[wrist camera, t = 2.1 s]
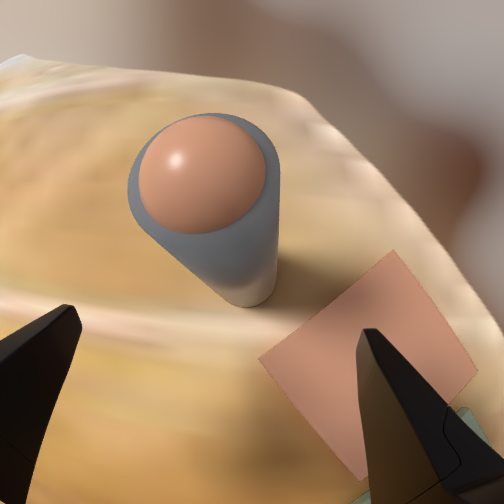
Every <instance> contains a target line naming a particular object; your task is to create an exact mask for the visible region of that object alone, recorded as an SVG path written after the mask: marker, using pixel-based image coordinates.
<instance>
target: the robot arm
mask: <svg viewBox="0 0 504 504" xmlns="http://www.w3.org/2000/svg"><path fill="white" fill-rule="evenodd" d="M81 332H82V323H81V321H80V318H79V316H78V313H77V311H76V309H75V307H74V306H72V305H67V304H63V305H61V306H59V307H57V308H55V309H54V310H52V311H50V312H48V313H47V314H45V315H43V316H41V317H40V318H38V319H36V320H34V321H33V322H31V323H29V324H27V325H26V326H24V327H22V328H21V329H19V330H17V331H16V332H14V333H12V334H10V335H9V336H7V337H5V338H4V339H2V340H0V501H2V502H3V503H5V504H26V499H27V495H28V491H29V487H30V483H31V479H32V475H33V472H34V468H35V464H36V461H37V457H38V454H39V451H40V447H41V444H42V441H43V438H44V435H45V432H46V429H47V426H48V423H49V420H50V418H51V415H52V412H53V409H54V407H55V404H56V401H57V399H58V396H59V393H60V391H61V388H62V386H63V383H64V381H65V378H66V376H67V373H68V371H69V368H70V365H71V362H72V359H73V356H74V353H75V350H76V347H77V344H78V341H79V338H80V335H81ZM356 368H357V387H358V403H359V410H360V416H361V423H362V430H363V437H364V444H365V452H366V460H367V469H368V478H369V487H370V498H371V504H504V459H503V458H502V457H501V456H500V455H499V454H498V453H497V452H496V451H495V450H493V449H492V448H491V447H490V446H489V445H488V444H487V443H486V442H485V441H484V440H483V439H481V438H480V437H479V436H478V435H477V434H476V433H475V432H474V431H473V430H472V429H471V428H470V427H469V426H468V425H467V424H466V423H465V422H464V421H463V420H462V419H461V418H460V417H459V416H458V415H457V413H456V412H455V411H454V410H453V409H452V408H451V407H450V406H448V404H447V402H446V401H445V400H444V399H443V398H442V397H441V396H440V395H439V394H438V393H437V391H436V390H435V389H434V388H433V387H432V386H431V385H430V384H429V383H428V382H427V381H426V380H425V378H424V377H423V376H422V375H421V374H420V373H419V372H418V371H417V370H416V369H415V368H414V367H413V366H412V365H411V363H410V362H409V361H408V360H407V359H406V358H405V357H404V356H403V355H402V354H401V353H400V352H399V351H398V350H397V349H396V348H395V347H394V345H393V344H392V343H391V342H390V341H389V340H388V339H387V338H386V337H385V336H384V335H383V334H382V333H381V332H380V331H379V330H378V329H377V328H364V329H363V330H362V331H361V334H360V338H359V341H358V344H357V348H356Z"/></svg>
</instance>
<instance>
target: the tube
mask: <svg viewBox="0 0 504 504" xmlns="http://www.w3.org/2000/svg"><path fill="white" fill-rule="evenodd" d="M128 201H129V205H130V209H131V211H132V214H133V216H134V218H135V219H136V221H137V223H138V224H139V225H140V226H141V228H142V229H143V230H144V231H145V232H146V233H147V234H148V235H150V236H151V237H152V238H153V239H154V240H155V241H156V242H157V243H159V244H160V245H161V246H162V247H163V248H164V249H165V250H167V251H168V252H169V253H170V254H171V255H172V256H174V257H175V258H176V259H177V260H178V261H179V262H180V263H182V264H183V265H184V266H185V267H186V268H187V269H189V270H190V271H191V272H192V273H193V274H195V275H196V276H197V277H198V278H199V279H200V280H202V281H203V282H204V283H205V284H206V285H208V286H209V287H210V288H211V289H212V290H214V291H215V292H216V293H217V294H219V295H220V296H221V297H222V298H223V299H225V300H226V301H227V302H229V303H230V304H232V305H235V306H238V307H253V306H256V305H258V304H261V303H262V302H264V301H265V300H266V299H267V298H268V297H269V296H270V295H271V294H272V292H273V290H274V288H275V285H276V281H277V262H278V235H279V203H280V163H279V158H278V155H277V152H276V150H275V147H274V145H273V144H272V142H271V140H270V139H269V138H268V137H267V135H266V134H265V133H264V132H263V131H262V130H261V129H259V128H258V127H257V126H255V125H254V124H252V123H251V122H249V121H247V120H245V119H242V118H239V117H237V116H233V115H228V114H221V113H207V114H199V115H194V116H190V117H187V118H184V119H181V120H179V121H176V122H174V123H172V124H170V125H169V126H167V127H165V128H164V129H162V130H161V131H159V132H158V133H157V134H156V135H155V136H153V137H152V138H151V139H150V140H149V141H148V142H147V143H146V145H145V146H144V147H143V148H142V150H141V151H140V153H139V154H138V156H137V158H136V159H135V161H134V164H133V166H132V168H131V172H130V175H129V180H128Z"/></svg>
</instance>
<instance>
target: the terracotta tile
mask: <svg viewBox="0 0 504 504" xmlns="http://www.w3.org/2000/svg"><path fill="white" fill-rule="evenodd" d="M364 328H377V329H378V330H379V331H380V332H381V333H382V334H383V335H384V336H385V337H386V338H387V339H388V340H389V341H390V342H391V343H392V344H393V345H394V347H395V348H396V349H397V350H398V351H399V352H400V353H401V354H402V355H403V356H404V357H405V358H406V359H407V360H408V361H409V362H410V363H411V365H412V366H413V367H414V368H415V369H416V370H417V371H418V372H419V373H420V374H421V375H422V376H423V377H424V378H425V380H426V381H427V382H428V383H429V384H430V385H431V386H432V387H433V388H434V389H435V390H436V391H437V393H438V394H439V395H440V396H441V397H442V398H443V399H444V400H445V401H446V402H447V404H449V403H450V402H451V401H452V400H453V399H454V398H455V397H456V396H457V394H458V393H459V392H460V391H461V390H462V389H463V388H464V386H465V385H466V384H467V383H468V382H469V381H470V379H471V378H472V377H473V376H474V375H475V373H476V372H477V371H478V370H477V368H476V366H475V365H474V363H473V361H472V360H471V358H470V357H469V355H468V353H467V352H466V350H465V349H464V347H463V345H462V344H461V342H460V341H459V339H458V338H457V336H456V335H455V333H454V332H453V330H452V329H451V327H450V326H449V324H448V323H447V321H446V320H445V318H444V317H443V315H442V314H441V312H440V311H439V310H438V308H437V307H436V305H435V304H434V303H433V301H432V300H431V298H430V297H429V296H428V294H427V293H426V291H425V290H424V289H423V287H422V286H421V285H420V283H419V282H418V281H417V279H416V278H415V277H414V275H413V274H412V273H411V271H410V270H409V269H408V268H407V266H406V265H405V264H404V262H403V261H402V260H401V259H400V257H399V256H398V255H397V254H396V252H395V251H394V250H392V251H391V252H389V253H388V254H387V255H386V256H385V257H384V258H383V259H381V260H380V261H379V262H378V263H377V264H376V265H375V266H374V267H372V268H371V269H370V270H369V271H368V272H367V273H366V274H364V275H363V276H362V277H361V278H360V279H359V280H357V281H356V282H355V283H354V284H353V285H352V286H350V287H349V288H348V289H347V290H346V291H344V292H343V293H342V294H341V295H340V296H338V297H337V298H336V299H335V300H333V301H332V302H331V303H330V304H329V305H327V306H326V307H325V308H324V309H322V310H321V311H320V312H319V313H317V314H316V315H315V316H314V317H312V318H311V319H310V320H309V321H307V322H306V323H305V324H303V325H302V326H301V327H300V328H298V329H297V330H296V331H294V332H293V333H292V334H290V335H289V336H288V337H286V338H285V339H284V340H282V341H281V342H280V343H278V344H277V345H276V346H274V347H273V348H272V349H270V350H269V351H268V352H266V353H265V354H263V355H262V356H261V357H259V358H258V360H259V361H260V362H261V364H262V365H263V366H264V368H265V369H266V370H267V371H268V373H269V374H270V375H271V377H272V378H273V379H274V380H275V382H276V383H277V384H278V386H279V387H280V388H281V389H282V391H283V392H284V393H285V394H286V396H287V397H288V398H289V399H290V401H291V402H292V403H293V404H294V406H295V407H296V408H297V409H298V411H299V412H300V413H301V414H302V415H303V417H304V418H305V419H306V420H307V422H308V423H309V424H310V425H311V426H312V428H313V429H314V430H315V431H316V432H317V434H318V435H319V436H320V437H321V438H322V439H323V441H324V442H325V443H326V444H327V445H328V447H329V448H330V449H331V450H332V451H333V452H334V453H335V455H336V456H337V457H338V458H339V459H340V460H341V462H342V463H343V464H344V465H345V466H346V467H347V468H348V469H349V471H350V472H351V473H352V474H353V475H354V476H355V477H356V478H357V480H358V481H359V482H360V481H361V480H363V479H364V478H365V477H367V476H368V469H367V460H366V452H365V444H364V437H363V430H362V423H361V416H360V410H359V403H358V387H357V368H356V348H357V344H358V341H359V338H360V334H361V331H362V330H363V329H364Z"/></svg>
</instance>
